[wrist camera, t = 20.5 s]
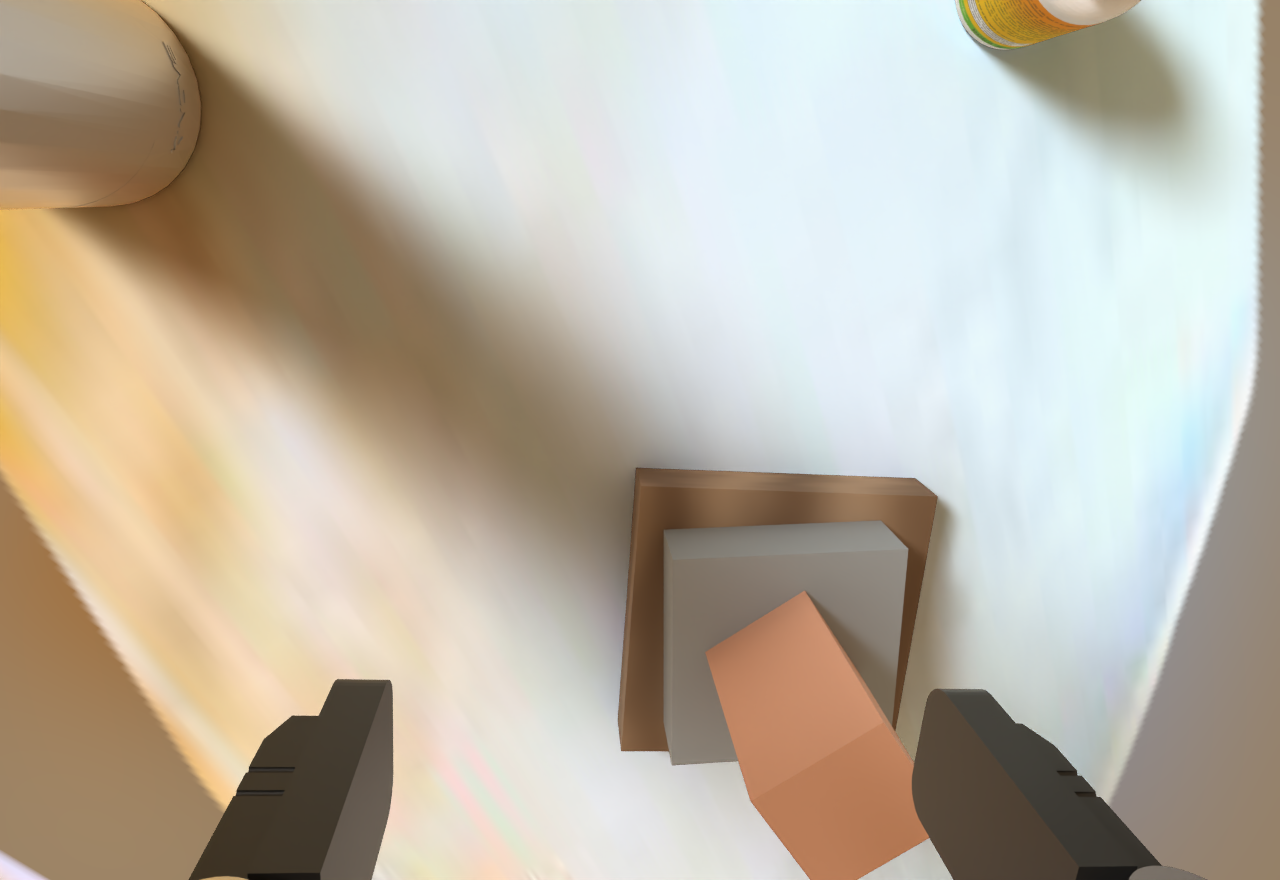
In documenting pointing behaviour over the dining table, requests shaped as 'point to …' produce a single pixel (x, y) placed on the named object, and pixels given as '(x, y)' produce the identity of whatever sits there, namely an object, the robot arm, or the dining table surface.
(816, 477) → the walnut base block
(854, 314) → the dining table surface
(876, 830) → the terracotta block
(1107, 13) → the supplement bottle
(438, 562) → the dining table surface
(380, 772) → the robot arm
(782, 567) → the slate top block
